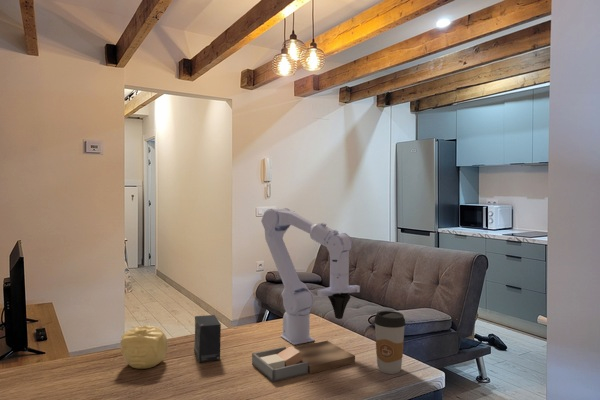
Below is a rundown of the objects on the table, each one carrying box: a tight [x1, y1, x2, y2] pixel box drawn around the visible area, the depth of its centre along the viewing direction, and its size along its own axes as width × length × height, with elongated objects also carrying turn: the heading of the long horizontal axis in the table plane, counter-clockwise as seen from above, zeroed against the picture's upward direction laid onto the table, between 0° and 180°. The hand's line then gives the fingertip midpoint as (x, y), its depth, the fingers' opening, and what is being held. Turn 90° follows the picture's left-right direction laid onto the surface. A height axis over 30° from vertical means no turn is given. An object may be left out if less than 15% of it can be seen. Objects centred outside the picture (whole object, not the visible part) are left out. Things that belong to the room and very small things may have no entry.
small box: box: [193, 314, 222, 363], centre depth 121 cm, size 11×6×10 cm, turn 22°
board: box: [293, 340, 356, 375], centre depth 119 cm, size 14×15×2 cm
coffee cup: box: [374, 310, 406, 375], centre depth 113 cm, size 8×8×15 cm
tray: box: [251, 346, 309, 383], centre depth 112 cm, size 13×10×3 cm
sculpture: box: [120, 325, 168, 370], centre depth 115 cm, size 11×12×11 cm
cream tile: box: [260, 354, 285, 369], centre depth 111 cm, size 5×5×2 cm
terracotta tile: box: [277, 345, 303, 367], centre depth 114 cm, size 5×5×2 cm
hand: (338, 318), depth 126 cm, fingers closed
